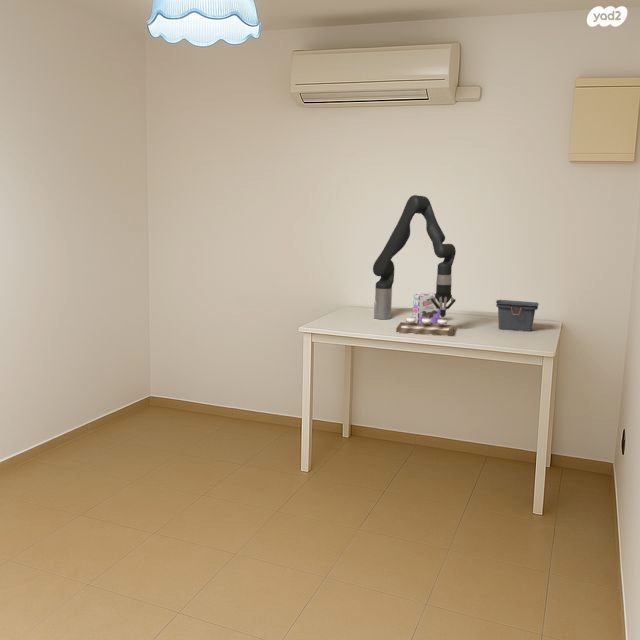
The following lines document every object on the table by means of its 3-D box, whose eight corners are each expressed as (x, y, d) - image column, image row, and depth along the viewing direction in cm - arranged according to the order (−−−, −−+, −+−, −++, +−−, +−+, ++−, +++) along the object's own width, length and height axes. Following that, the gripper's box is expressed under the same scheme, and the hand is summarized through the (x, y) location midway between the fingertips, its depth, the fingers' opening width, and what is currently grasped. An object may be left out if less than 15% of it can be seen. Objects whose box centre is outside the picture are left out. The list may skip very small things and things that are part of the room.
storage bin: (536, 328, 356) (538, 301, 353) (536, 333, 341) (538, 306, 339) (495, 325, 362) (497, 299, 360) (493, 330, 348) (495, 303, 345)
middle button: (421, 323, 345) (421, 319, 345) (422, 321, 350) (422, 318, 349) (430, 323, 344) (430, 320, 344) (431, 322, 348) (431, 318, 348)
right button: (437, 324, 343) (437, 320, 343) (437, 322, 348) (437, 318, 347) (446, 324, 342) (446, 320, 342) (447, 323, 347) (447, 319, 346)
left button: (405, 322, 347) (405, 318, 347) (406, 320, 352) (406, 317, 351) (415, 323, 346) (415, 319, 345) (416, 321, 350) (416, 317, 350)
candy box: (417, 325, 362) (418, 294, 359) (412, 323, 367) (413, 293, 364) (439, 323, 367) (441, 293, 364) (434, 321, 372) (435, 292, 369)
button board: (396, 332, 340) (396, 327, 340) (400, 326, 356) (400, 321, 355) (452, 336, 334) (452, 330, 333) (454, 330, 349) (454, 324, 348)
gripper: (457, 282, 343) (456, 316, 346) (431, 281, 346) (430, 315, 349) (456, 284, 336) (455, 318, 339) (430, 283, 339) (428, 317, 342)
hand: (442, 316), depth 344 cm, fingers closed
